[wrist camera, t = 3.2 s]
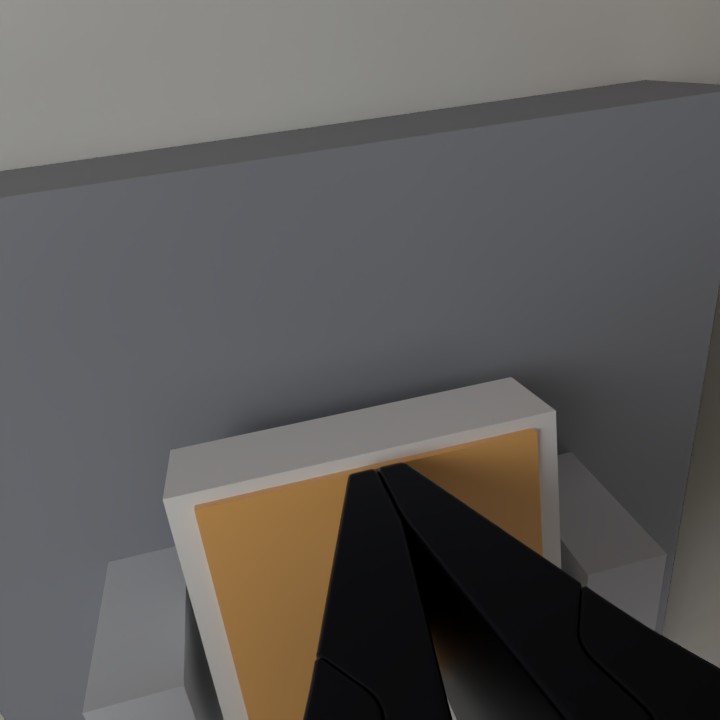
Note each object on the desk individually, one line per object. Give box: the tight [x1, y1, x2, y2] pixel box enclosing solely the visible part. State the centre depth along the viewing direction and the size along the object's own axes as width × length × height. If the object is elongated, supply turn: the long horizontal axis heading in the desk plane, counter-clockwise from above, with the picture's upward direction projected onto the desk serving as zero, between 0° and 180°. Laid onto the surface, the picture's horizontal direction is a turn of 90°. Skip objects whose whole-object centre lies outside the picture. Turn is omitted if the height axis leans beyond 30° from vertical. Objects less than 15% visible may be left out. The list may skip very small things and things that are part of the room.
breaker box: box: [0, 80, 720, 720], centre depth 14 cm, size 18×16×6 cm
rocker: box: [163, 377, 561, 720], centre depth 12 cm, size 10×6×2 cm, turn 6°
